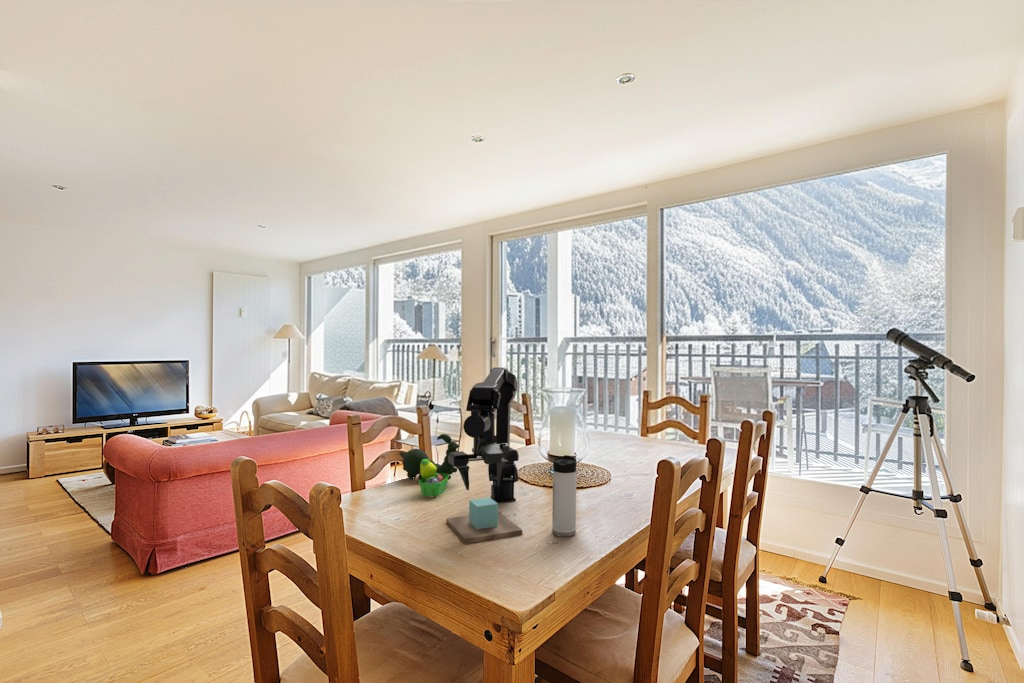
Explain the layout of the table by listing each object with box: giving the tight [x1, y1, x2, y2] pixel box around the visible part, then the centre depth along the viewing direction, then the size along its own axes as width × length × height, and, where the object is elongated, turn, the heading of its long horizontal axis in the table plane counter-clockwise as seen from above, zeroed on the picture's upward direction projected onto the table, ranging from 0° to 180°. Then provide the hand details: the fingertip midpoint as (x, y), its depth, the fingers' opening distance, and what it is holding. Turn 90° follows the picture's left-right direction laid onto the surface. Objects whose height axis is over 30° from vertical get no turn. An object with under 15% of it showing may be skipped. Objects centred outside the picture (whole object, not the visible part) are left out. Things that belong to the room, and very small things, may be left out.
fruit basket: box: [418, 459, 449, 498], centre depth 168 cm, size 11×9×11 cm
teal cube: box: [468, 497, 499, 529], centre depth 136 cm, size 6×6×6 cm
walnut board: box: [445, 510, 523, 545], centre depth 136 cm, size 16×16×1 cm
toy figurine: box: [398, 433, 460, 481], centre depth 183 cm, size 9×19×25 cm
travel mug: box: [551, 454, 577, 537], centre depth 134 cm, size 6×7×20 cm
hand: (483, 488), depth 136 cm, fingers open, 9 cm apart
